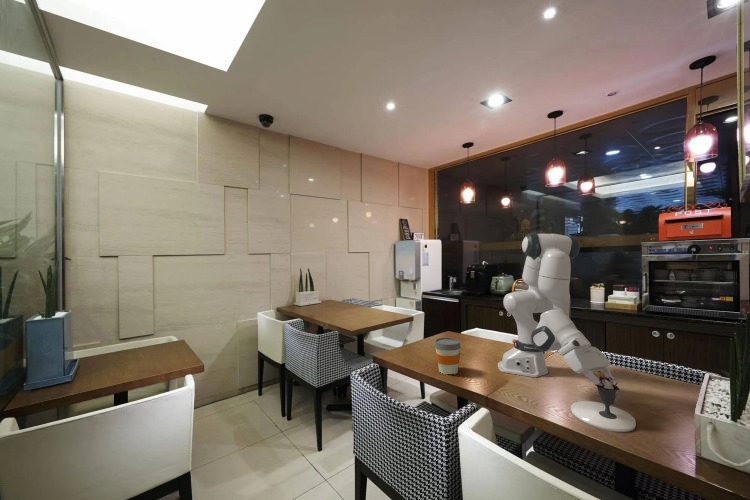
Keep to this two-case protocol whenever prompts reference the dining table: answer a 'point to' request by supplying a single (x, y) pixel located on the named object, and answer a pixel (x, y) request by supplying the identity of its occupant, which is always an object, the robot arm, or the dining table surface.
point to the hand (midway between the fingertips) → (605, 382)
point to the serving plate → (591, 416)
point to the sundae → (607, 395)
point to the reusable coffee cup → (447, 355)
